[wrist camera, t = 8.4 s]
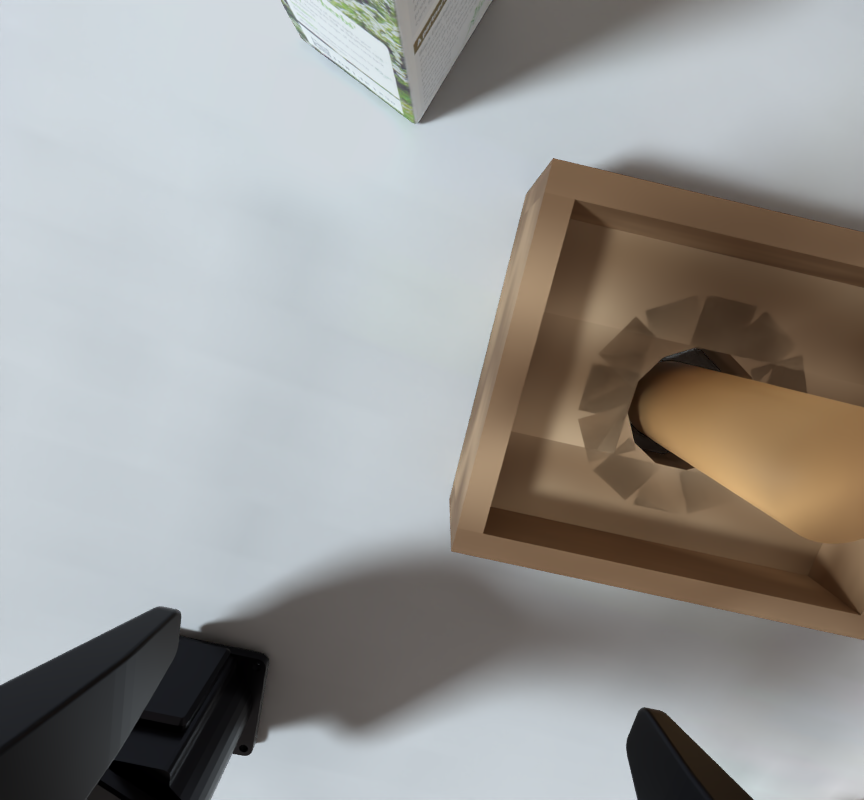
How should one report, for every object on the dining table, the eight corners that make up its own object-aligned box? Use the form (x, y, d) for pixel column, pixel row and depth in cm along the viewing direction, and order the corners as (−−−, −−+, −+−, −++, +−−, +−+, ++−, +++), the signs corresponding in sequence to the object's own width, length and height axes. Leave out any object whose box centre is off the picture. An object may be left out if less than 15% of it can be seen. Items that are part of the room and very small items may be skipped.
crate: (785, 572, 21) (874, 642, 17) (449, 499, 21) (451, 551, 16) (915, 286, 18) (1065, 280, 14) (525, 194, 18) (553, 158, 13)
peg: (689, 445, 20) (883, 556, 11) (615, 428, 20) (750, 527, 11) (717, 370, 19) (949, 427, 10) (640, 352, 19) (807, 394, 10)
